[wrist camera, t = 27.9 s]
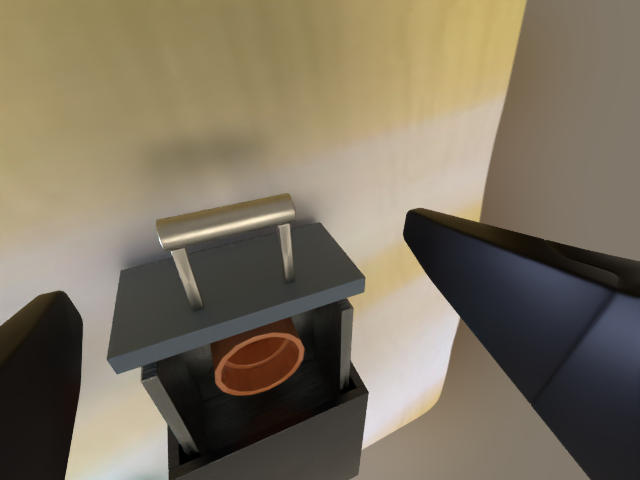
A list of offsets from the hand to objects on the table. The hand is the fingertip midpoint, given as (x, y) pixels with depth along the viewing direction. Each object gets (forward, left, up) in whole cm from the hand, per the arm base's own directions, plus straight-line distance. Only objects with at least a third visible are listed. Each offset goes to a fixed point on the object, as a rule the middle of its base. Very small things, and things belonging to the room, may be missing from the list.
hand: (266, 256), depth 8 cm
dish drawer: (+10, -7, -11) cm, 17 cm away
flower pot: (+11, -8, -10) cm, 17 cm away
